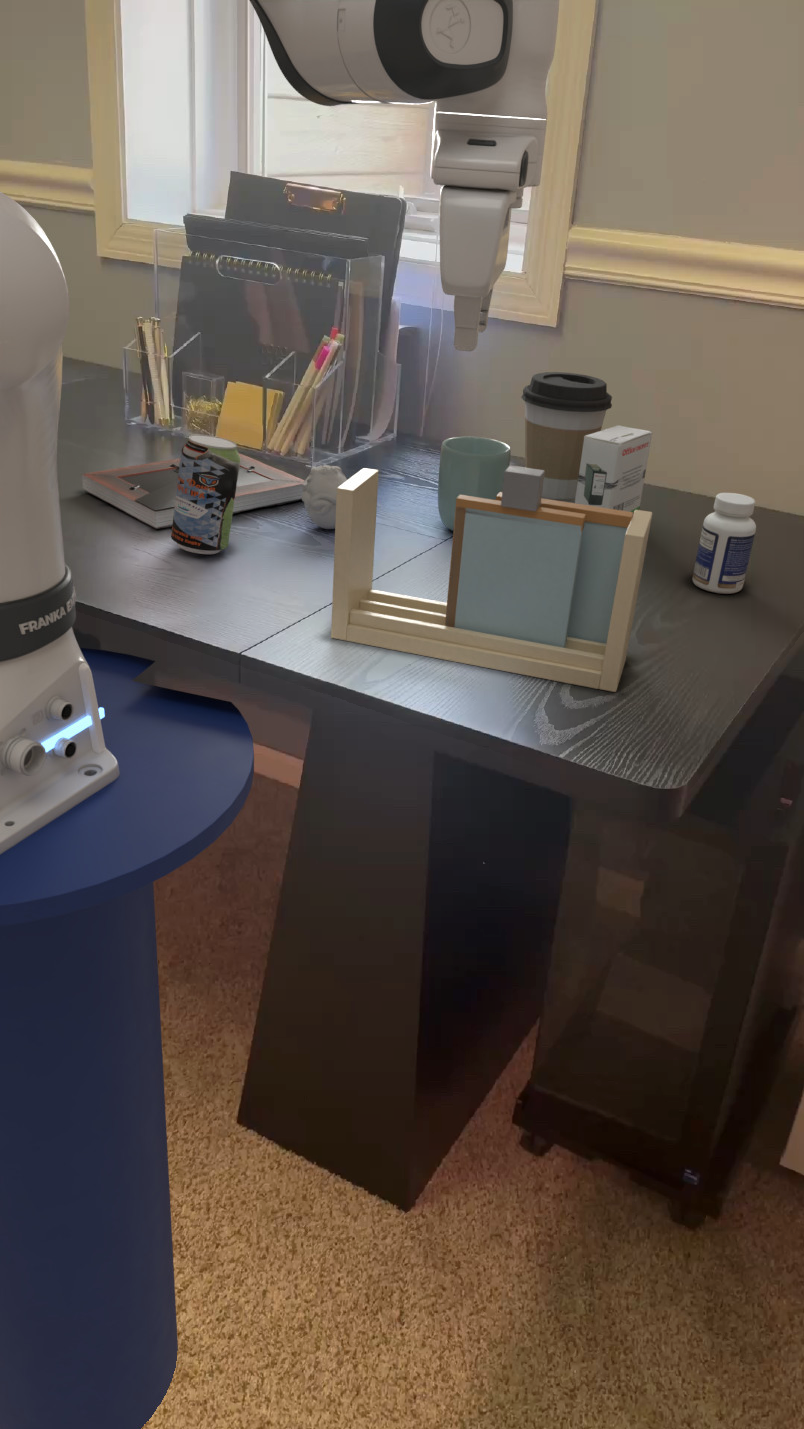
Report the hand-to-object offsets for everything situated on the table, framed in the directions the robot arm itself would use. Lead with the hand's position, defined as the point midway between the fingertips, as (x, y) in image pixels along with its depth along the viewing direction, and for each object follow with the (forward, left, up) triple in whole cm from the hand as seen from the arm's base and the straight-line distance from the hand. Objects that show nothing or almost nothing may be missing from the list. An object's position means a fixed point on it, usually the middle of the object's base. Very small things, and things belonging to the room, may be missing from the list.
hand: (470, 340), depth 93 cm
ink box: (+34, -11, -26) cm, 44 cm away
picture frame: (+22, +37, -26) cm, 50 cm away
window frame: (-6, -5, -26) cm, 27 cm away
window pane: (-7, -7, -24) cm, 26 cm away
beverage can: (+6, +28, -26) cm, 39 cm away
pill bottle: (+21, -25, -26) cm, 41 cm away
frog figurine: (+19, +19, -26) cm, 37 cm away
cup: (+26, +4, -26) cm, 37 cm away
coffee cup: (+44, -3, -26) cm, 51 cm away
